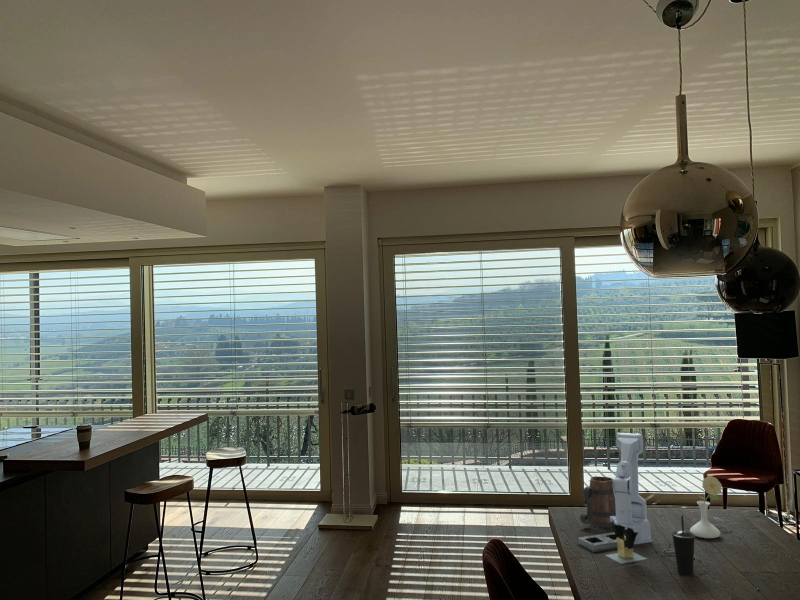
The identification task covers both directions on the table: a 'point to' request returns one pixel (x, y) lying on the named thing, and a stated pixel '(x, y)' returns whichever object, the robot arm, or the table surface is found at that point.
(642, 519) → the robot arm
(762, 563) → the table surface
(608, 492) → the tankard
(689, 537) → the drinking cup
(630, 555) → the beige rectangular block
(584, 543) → the grey socket tray
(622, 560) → the pale flat rectangular plate
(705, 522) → the flower in vase
